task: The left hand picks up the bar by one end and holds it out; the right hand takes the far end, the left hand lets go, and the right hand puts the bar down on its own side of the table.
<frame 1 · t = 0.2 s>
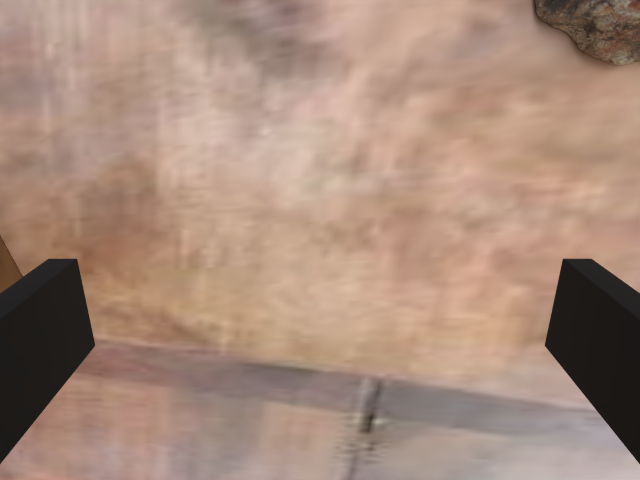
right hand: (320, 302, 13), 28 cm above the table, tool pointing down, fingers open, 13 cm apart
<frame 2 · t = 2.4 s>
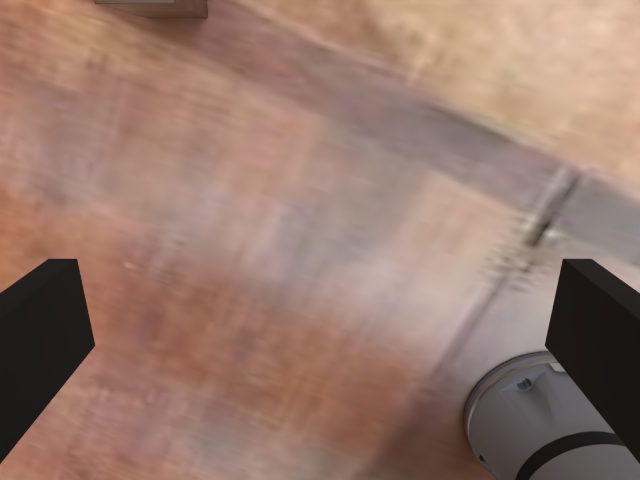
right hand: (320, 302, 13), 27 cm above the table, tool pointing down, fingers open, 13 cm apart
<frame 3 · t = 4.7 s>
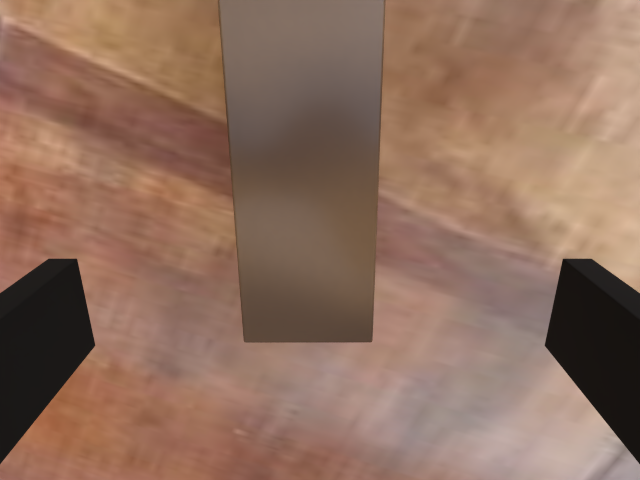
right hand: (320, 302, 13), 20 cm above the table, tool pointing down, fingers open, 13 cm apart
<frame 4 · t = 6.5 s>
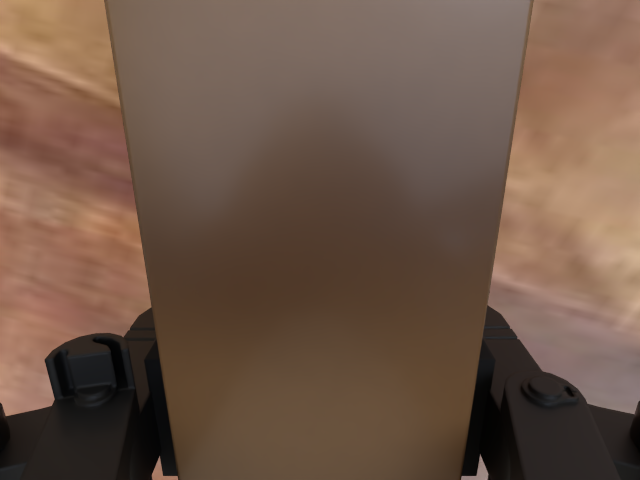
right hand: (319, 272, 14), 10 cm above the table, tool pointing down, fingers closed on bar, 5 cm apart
when the left hand's fingers open (13 cm above the table, at t = 7.3 s): bar stays where it is, held by the right hand.
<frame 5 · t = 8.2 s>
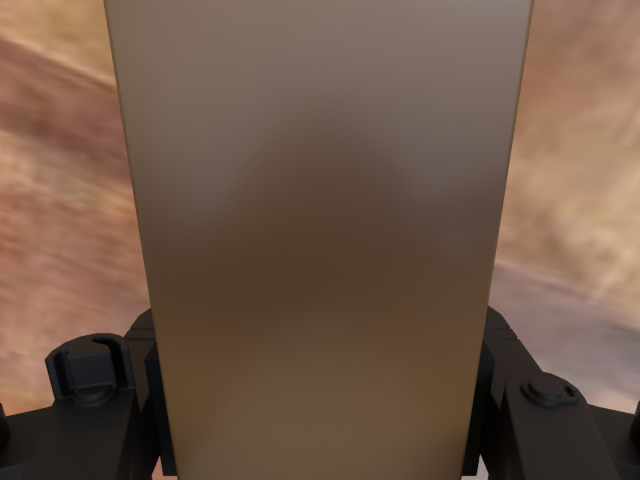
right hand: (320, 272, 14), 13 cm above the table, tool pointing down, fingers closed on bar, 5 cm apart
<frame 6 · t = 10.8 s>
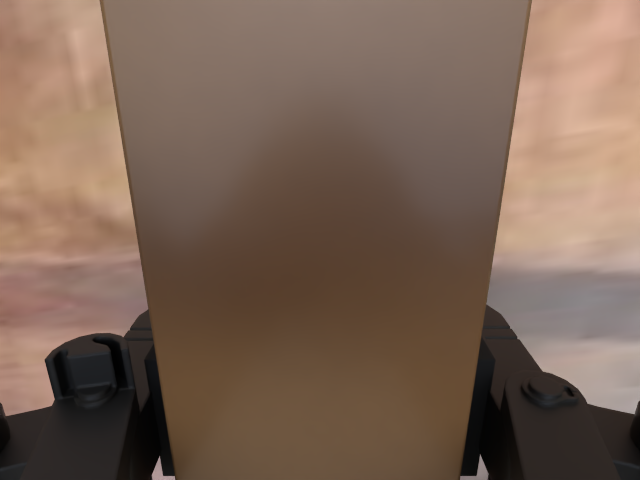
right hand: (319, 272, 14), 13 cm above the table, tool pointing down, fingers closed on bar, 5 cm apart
when the right hand's fingers open (2 cm above the table, at t = 15.0 s): bar drops 2 cm, on the table.
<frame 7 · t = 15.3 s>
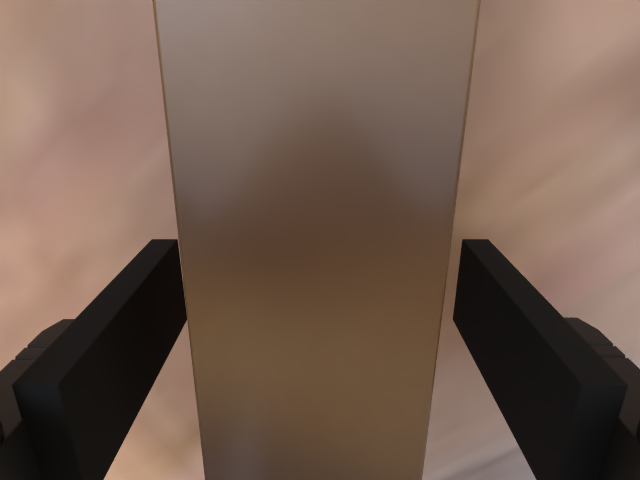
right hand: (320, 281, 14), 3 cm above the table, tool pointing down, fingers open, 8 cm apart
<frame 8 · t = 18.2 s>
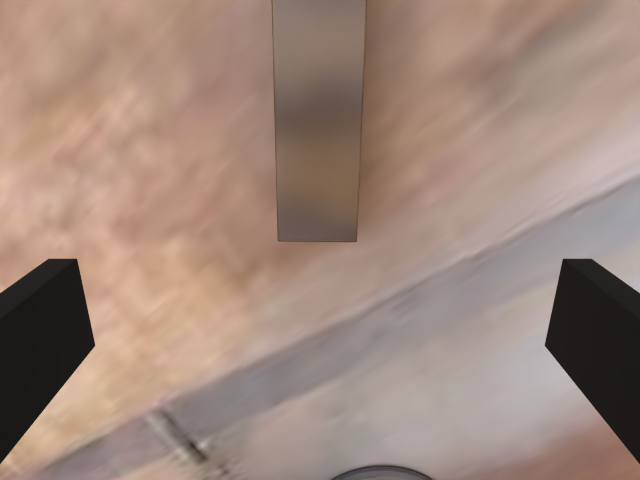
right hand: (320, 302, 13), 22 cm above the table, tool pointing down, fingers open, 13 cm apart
bar: (319, 11, 30), on the table
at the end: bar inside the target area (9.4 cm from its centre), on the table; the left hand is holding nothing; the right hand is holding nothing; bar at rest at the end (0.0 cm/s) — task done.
